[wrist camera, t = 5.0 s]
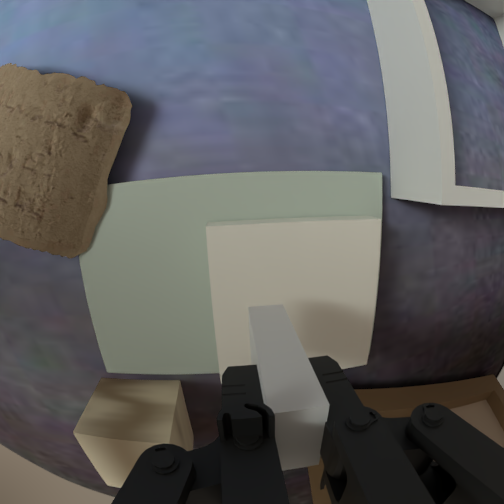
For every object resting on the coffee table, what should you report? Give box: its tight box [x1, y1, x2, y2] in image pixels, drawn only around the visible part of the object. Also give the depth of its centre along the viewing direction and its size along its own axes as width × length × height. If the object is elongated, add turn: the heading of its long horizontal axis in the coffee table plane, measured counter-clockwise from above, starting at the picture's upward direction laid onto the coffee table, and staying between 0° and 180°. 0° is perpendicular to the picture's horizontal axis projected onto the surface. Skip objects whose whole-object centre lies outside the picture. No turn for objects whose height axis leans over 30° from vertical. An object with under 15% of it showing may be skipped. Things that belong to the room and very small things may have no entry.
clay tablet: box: [0, 63, 132, 258], centre depth 12 cm, size 14×10×3 cm
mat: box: [79, 171, 382, 374], centre depth 17 cm, size 18×12×1 cm, turn 92°
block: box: [73, 378, 194, 488], centre depth 16 cm, size 6×6×6 cm
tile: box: [206, 216, 381, 383], centre depth 16 cm, size 2×9×9 cm
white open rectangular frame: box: [367, 0, 504, 208], centre depth 13 cm, size 18×21×5 cm
